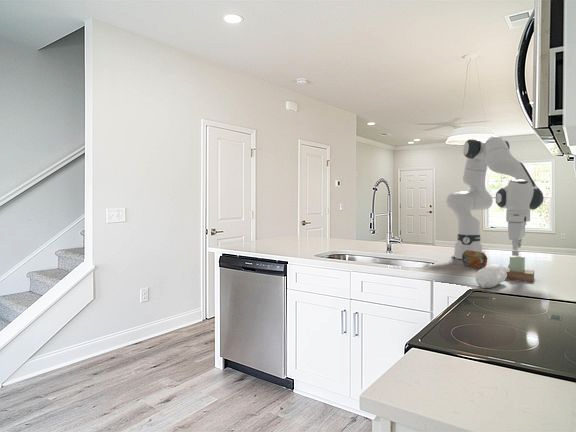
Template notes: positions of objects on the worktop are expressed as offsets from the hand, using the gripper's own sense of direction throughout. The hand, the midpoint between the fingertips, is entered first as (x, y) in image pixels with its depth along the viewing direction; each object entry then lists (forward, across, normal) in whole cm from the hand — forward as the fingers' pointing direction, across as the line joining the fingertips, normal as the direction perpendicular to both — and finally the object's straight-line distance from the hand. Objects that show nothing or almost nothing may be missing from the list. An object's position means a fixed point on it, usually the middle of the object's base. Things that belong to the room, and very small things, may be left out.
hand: (516, 248), depth 164 cm
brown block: (+14, +1, 0) cm, 14 cm away
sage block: (+10, 0, 0) cm, 10 cm away
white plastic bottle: (+13, +24, -5) cm, 28 cm away
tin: (+14, -18, -20) cm, 31 cm away
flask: (+14, -18, -2) cm, 22 cm away
